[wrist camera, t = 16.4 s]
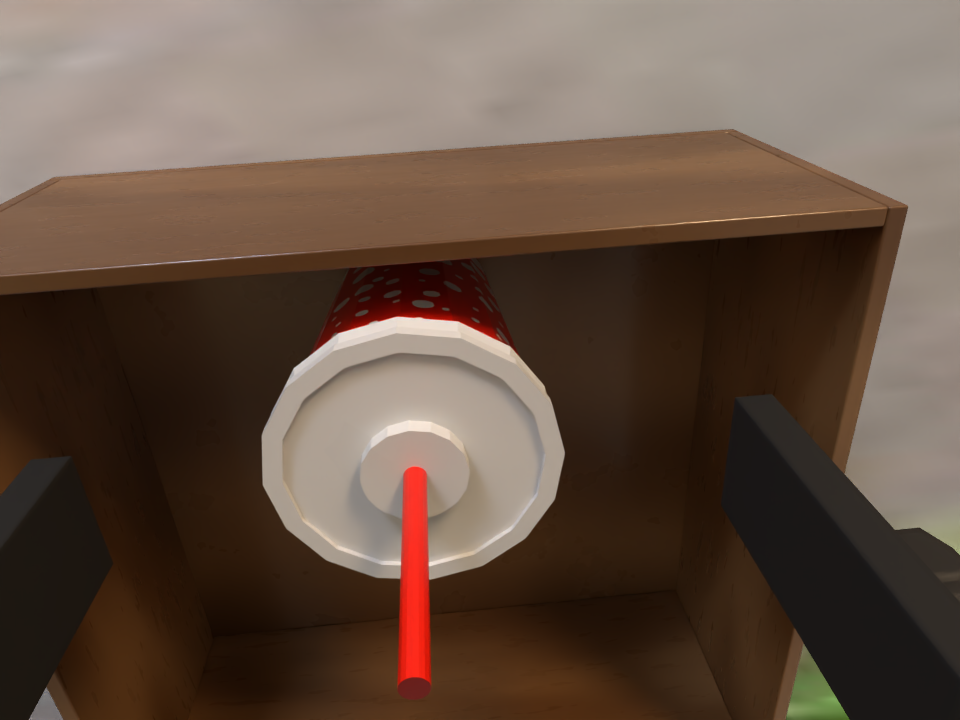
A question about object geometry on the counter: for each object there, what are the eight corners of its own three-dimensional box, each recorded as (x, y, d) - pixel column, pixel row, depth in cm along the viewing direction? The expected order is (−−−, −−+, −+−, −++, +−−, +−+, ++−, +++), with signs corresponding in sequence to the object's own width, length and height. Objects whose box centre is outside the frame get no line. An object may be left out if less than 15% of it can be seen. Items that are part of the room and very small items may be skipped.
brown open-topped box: (681, 588, 30) (769, 787, 22) (208, 636, 29) (136, 860, 21) (733, 128, 21) (910, 205, 13) (52, 177, 20) (-164, 287, 12)
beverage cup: (430, 412, 24) (444, 858, 12) (277, 310, 22) (96, 726, 10) (551, 283, 22) (720, 652, 10) (398, 157, 20) (368, 428, 8)
